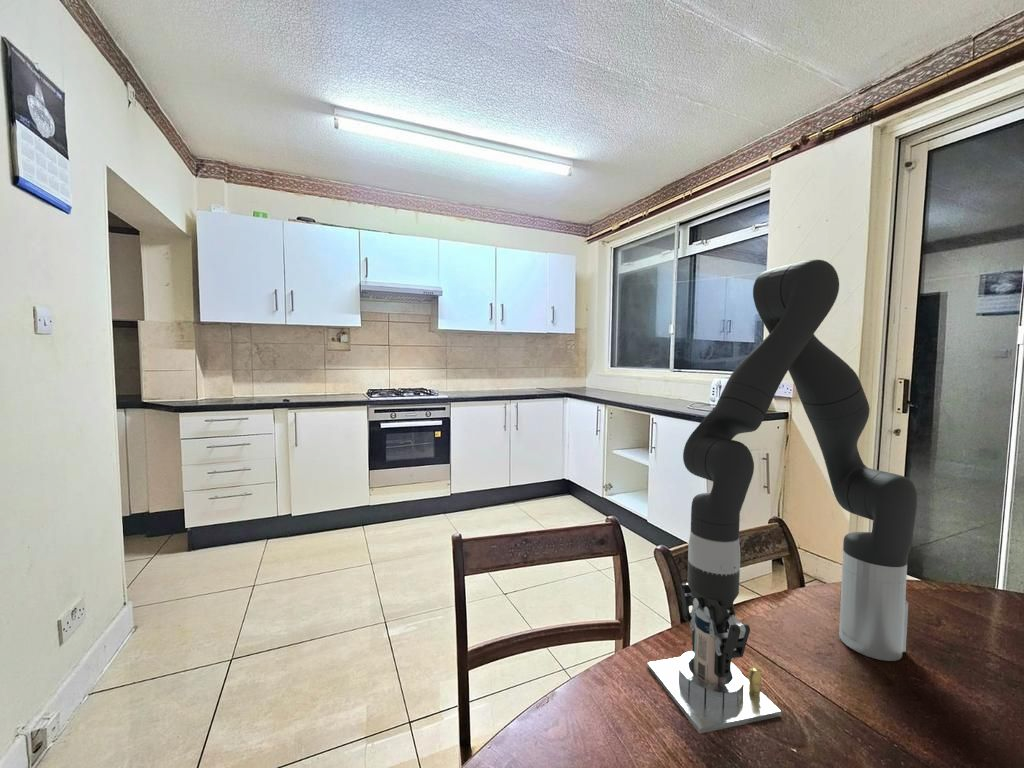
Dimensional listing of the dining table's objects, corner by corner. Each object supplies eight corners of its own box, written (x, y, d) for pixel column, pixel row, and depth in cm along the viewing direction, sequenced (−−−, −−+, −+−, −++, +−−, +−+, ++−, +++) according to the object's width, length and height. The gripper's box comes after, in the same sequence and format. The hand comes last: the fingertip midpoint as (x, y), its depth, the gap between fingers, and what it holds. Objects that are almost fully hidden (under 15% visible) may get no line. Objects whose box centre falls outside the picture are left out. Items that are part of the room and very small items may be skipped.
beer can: (729, 694, 68) (732, 619, 67) (696, 689, 69) (699, 615, 68) (721, 672, 73) (723, 602, 72) (690, 668, 74) (692, 599, 73)
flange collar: (717, 655, 79) (717, 629, 79) (781, 716, 66) (782, 685, 65) (647, 666, 76) (648, 640, 76) (699, 733, 62) (700, 701, 62)
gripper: (769, 580, 64) (764, 692, 65) (704, 540, 78) (701, 633, 78) (724, 586, 62) (720, 701, 63) (666, 544, 76) (664, 639, 77)
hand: (710, 663), depth 71 cm, fingers closed on beer can, 4 cm apart
